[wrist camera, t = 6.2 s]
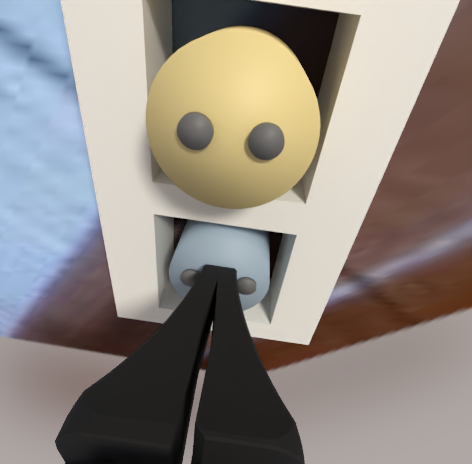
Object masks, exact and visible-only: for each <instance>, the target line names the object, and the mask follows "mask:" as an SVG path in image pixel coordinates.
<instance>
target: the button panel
mask: <svg viewBox="0 0 472 464" xmlns="http://www.w3.org/2000/svg"><path fill="white" fill-rule="evenodd" d="M249 1H256V2H263V3H270V4H277V5H284V6H291V7H298V8H305V9H312V10H319V11H326V12H333V13H339V17H338V21H337V25H336V29H335V33H334V37H333V41H332V44H331V48H330V52H329V56H328V60H327V64H326V68H325V72H324V76H323V79H322V83H321V87H320V91H319V95H318V99H317V101H318V106H319V111H320V137H319V141H318V146H317V149H316V152H315V155H314V158H313V160H312V162H311V164H310V166H309V168H308V169H307V171H306V172H305V174H304V175H303V177H302V178H301V179H300V180H299V181H298V182H297V184H296V185H295V186H293V187H292V188H291V189H290V190H289V191H288V192H286V193H285V194H283V195H282V196H280V197H279V198H277V199H275V200H273V201H271V202H269V203H266V204H263V205H260V206H256V207H253V208H245V209H227V208H220V207H215V206H212V205H209V204H205V203H203V202H201V201H198V200H196V199H194V198H193V197H191V196H189V195H188V194H186V193H185V192H183V191H182V190H181V189H179V188H178V187H177V186H176V185H175V184H174V183H173V182H172V181H171V180H170V179H169V178H168V177H167V175H166V174H165V173H164V172H163V170H162V169H161V167H160V166H159V164H158V162H157V160H156V159H155V157H154V155H153V152H152V149H151V147H150V144H149V140H148V136H147V130H146V105H147V99H148V95H149V92H150V88H151V86H152V83H153V81H154V79H155V77H156V75H157V73H158V72H159V70H160V69H161V67H162V66H163V64H164V63H165V62H166V61H167V60H168V59H169V57H170V56H171V55H172V0H61V6H62V11H63V17H64V22H65V28H66V33H67V39H68V44H69V50H70V55H71V61H72V66H73V72H74V78H75V83H76V89H77V94H78V100H79V105H80V111H81V116H82V122H83V127H84V133H85V138H86V144H87V149H88V155H89V160H90V166H91V171H92V177H93V182H94V188H95V193H96V199H97V204H98V210H99V215H100V221H101V226H102V232H103V238H104V243H105V249H106V254H107V260H108V265H109V271H110V276H111V282H112V287H113V293H114V298H115V304H116V309H117V315H118V317H123V318H130V319H136V320H143V321H150V322H157V323H164V322H165V321H166V320H167V319H168V318H169V316H170V315H171V314H172V313H173V311H174V310H175V309H176V308H177V306H178V305H179V304H180V303H181V301H182V300H183V298H181V297H180V296H179V295H178V293H177V292H176V291H175V290H174V288H173V286H172V284H171V282H170V278H169V267H170V263H171V261H172V258H173V256H174V217H177V218H184V219H190V220H197V221H204V222H211V223H218V224H225V225H231V226H238V227H245V228H252V229H259V230H266V231H273V232H279V233H283V235H282V239H281V243H280V246H279V250H278V254H277V258H276V262H275V266H274V270H273V274H272V278H271V281H270V284H269V289H268V292H267V294H266V295H265V297H264V298H263V299H262V300H261V301H260V302H259V303H258V304H257V305H255V306H254V307H252V308H250V309H247V310H245V311H243V313H244V317H245V320H246V323H247V326H248V329H249V332H250V335H251V337H258V338H265V339H272V340H278V341H285V342H292V343H299V344H306V345H309V343H310V340H311V338H312V336H313V334H314V331H315V329H316V327H317V324H318V322H319V320H320V318H321V315H322V313H323V311H324V308H325V306H326V304H327V302H328V299H329V297H330V295H331V293H332V290H333V288H334V286H335V283H336V281H337V279H338V277H339V274H340V272H341V270H342V267H343V265H344V263H345V261H346V258H347V256H348V254H349V252H350V249H351V247H352V245H353V242H354V240H355V238H356V236H357V233H358V231H359V229H360V227H361V224H362V222H363V220H364V217H365V215H366V213H367V211H368V208H369V206H370V204H371V201H372V199H373V197H374V195H375V192H376V190H377V188H378V186H379V183H380V181H381V179H382V176H383V174H384V172H385V170H386V167H387V165H388V163H389V160H390V158H391V156H392V154H393V151H394V149H395V147H396V145H397V142H398V140H399V138H400V135H401V133H402V131H403V129H404V126H405V124H406V122H407V120H408V117H409V115H410V113H411V110H412V108H413V106H414V104H415V101H416V99H417V97H418V94H419V92H420V90H421V88H422V85H423V83H424V81H425V79H426V76H427V74H428V72H429V69H430V67H431V65H432V63H433V60H434V58H435V56H436V53H437V51H438V49H439V47H440V44H441V42H442V40H443V38H444V35H445V33H446V31H447V28H448V26H449V24H450V22H451V19H452V17H453V15H454V13H455V10H456V8H457V6H458V3H459V1H460V0H249ZM212 327H213V323H212V326H211V331H212Z"/></svg>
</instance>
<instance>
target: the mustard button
mask: <svg viewBox="0 0 472 464" xmlns="http://www.w3.org/2000/svg"><path fill="white" fill-rule="evenodd" d="M146 130H147V136H148V140H149V144H150V147H151V149H152V152H153V155H154V157H155V159H156V160H157V162H158V164H159V166H160V167H161V169H162V170H163V172H164V173H165V174H166V175H167V177H168V178H169V179H170V180H171V181H172V182H173V183H174V184H175V185H176V186H177V187H178V188H179V189H181V190H182V191H183V192H185V193H186V194H188V195H189V196H191V197H193V198H194V199H196V200H198V201H201V202H203V203H205V204H209V205H212V206H215V207H220V208H227V209H245V208H253V207H256V206H260V205H263V204H266V203H269V202H271V201H273V200H275V199H277V198H279V197H280V196H282V195H283V194H285V193H286V192H288V191H289V190H290V189H291V188H292V187H293V186H295V185H296V184H297V182H298V181H299V180H300V179H301V178H302V177H303V175H304V174H305V172H306V171H307V169H308V168H309V166H310V164H311V162H312V160H313V158H314V155H315V152H316V149H317V146H318V141H319V137H320V111H319V106H318V101H317V98H316V95H315V92H314V89H313V87H312V85H311V83H310V81H309V79H308V77H307V75H306V73H305V71H304V69H303V68H302V66H301V64H300V62H299V60H298V58H297V57H296V56H295V54H294V53H293V51H292V50H291V49H290V48H289V47H288V46H287V45H286V43H284V42H283V41H282V40H281V39H279V38H278V37H277V36H275V35H273V34H272V33H270V32H268V31H265V30H263V29H260V28H257V27H252V26H242V25H238V26H229V27H225V28H222V29H219V30H216V31H214V32H212V33H209V34H207V35H205V36H202V37H200V38H198V39H195V40H193V41H191V42H189V43H187V44H186V45H184V46H183V47H181V48H180V49H178V50H177V51H176V52H175V53H174V54H173V55H171V56H170V57H169V59H168V60H167V61H166V62H165V63H164V64H163V66H162V67H161V69H160V70H159V72H158V73H157V75H156V77H155V79H154V81H153V83H152V86H151V88H150V92H149V95H148V99H147V105H146Z"/></svg>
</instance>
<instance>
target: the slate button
mask: <svg viewBox="0 0 472 464" xmlns="http://www.w3.org/2000/svg"><path fill="white" fill-rule="evenodd" d="M206 264H208V265H215V266H222V267H229V268H235V269H236V270H237V284H238V291H239V296H240V301H241V305H242V309H243V311H245V310H247V309H250V308H252V307H254V306H255V305H257V304H258V303H259V302H260V301H261V300H262V299H263V298H264V297H265V295H266V294H267V292H268V289H269V284H270V235H269V231H266V230H259V229H252V228H245V227H238V226H231V225H225V224H218V223H211V222H204V221H197V220H190V219H188V220H187V222H186V225H185V227H184V230H183V233H182V235H181V238H180V240H179V243H178V245H177V248H176V250H175V253H174V256H173V258H172V261H171V263H170V267H169V278H170V282H171V284H172V286H173V288H174V290H175V291H176V292H177V293H178V295H179V296H180V297H181V298H183V299H184V297H185V296H186V294H187V293H188V292H189V290H190V289H191V287H192V286H193V284H194V283H195V281H196V279H197V278H198V276H199V274H200V272H201V270H202V268H203V266H204V265H206Z"/></svg>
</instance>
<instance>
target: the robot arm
mask: <svg viewBox="0 0 472 464" xmlns="http://www.w3.org/2000/svg"><path fill="white" fill-rule="evenodd" d="M212 323H213V327H212V340H211V346H210V352H209V357H208V362H207V367H206V372H205V378H204V383H203V388H202V393H201V398H200V402H199V408H198V412H197V417H196V422H195V431H194V445H193V455H192V461H191V464H305V463H304V454H303V449H302V444H301V440H300V436H299V433H298V429H297V426H296V423H295V421H294V419H293V418H292V416H291V414H290V413H289V411H288V410H287V408H286V406H285V405H284V403H283V402H282V400H281V398H280V396H279V395H278V393H277V391H276V389H275V387H274V386H273V384H272V382H271V380H270V378H269V376H268V374H267V372H266V370H265V368H264V366H263V364H262V362H261V360H260V357H259V355H258V353H257V350H256V348H255V345H254V343H253V340H252V338H251V335H250V332H249V329H248V326H247V323H246V320H245V317H244V313H243V309H242V305H241V301H240V296H239V291H238V284H237V270H236V269H235V268H229V267H222V266H215V265H208V264H206V265H204V266H203V268H202V270H201V272H200V274H199V276H198V278H197V279H196V281H195V283H194V284H193V286H192V287H191V289H190V290H189V292H188V293H187V294H186V296H185V297H184V299H183V300H182V301H181V303H180V304H179V305H178V306H177V308H176V309H175V310H174V311H173V313H172V314H171V315H170V316H169V318H168V319H167V320H166V321H165V322H164V323H163V324H162V325H161V326H160V328H159V329H158V330H157V331H156V332H155V333H154V334H153V335H152V336H151V337H150V338H149V339H148V340H147V341H146V342H145V343H144V344H142V345H141V346H140V347H139V348H138V349H137V350H136V351H135V352H134V353H133V354H131V355H130V356H129V357H128V358H127V359H125V360H124V361H123V362H122V363H121V364H119V365H118V366H117V367H116V368H115V369H113V370H112V371H111V372H110V373H108V374H107V375H105V376H104V377H103V378H101V379H100V380H99V381H97V382H96V383H94V384H93V385H92V386H90V387H89V388H88V389H86V390H85V391H84V392H83V393H82V395H81V396H80V397H79V399H78V400H77V402H76V403H75V405H74V406H73V408H72V409H71V411H70V413H69V414H68V416H67V418H66V420H65V422H64V424H63V426H62V428H61V430H60V432H59V434H58V436H57V438H56V440H55V443H56V447H57V449H58V451H59V453H60V454H61V456H62V457H63V459H64V461H65V462H66V463H65V464H182V461H183V455H184V449H185V444H186V438H187V433H188V427H189V422H190V416H191V410H192V405H193V400H194V394H195V389H196V384H197V378H198V374H199V370H200V366H201V363H202V359H203V355H204V352H205V348H206V344H207V341H208V337H209V334H210V330H211V326H212Z"/></svg>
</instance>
